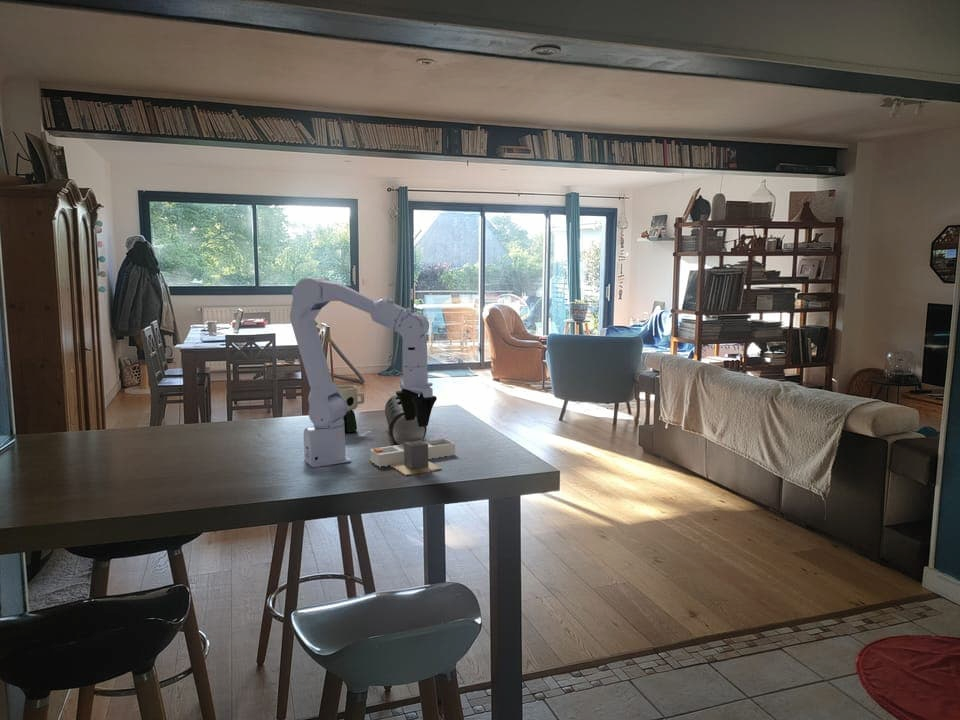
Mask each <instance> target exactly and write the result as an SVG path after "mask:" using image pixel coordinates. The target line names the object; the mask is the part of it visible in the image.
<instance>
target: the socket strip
mask: <svg viewBox="0 0 960 720" xmlns="http://www.w3.org/2000/svg"><path fill="white" fill-rule="evenodd" d="M422 441H423V440H422ZM423 442H425V443H427V444H428V460H433V459H432V458H434V459H439V457H441V458H445V456H447V457H452V455H453V456H456V443H455V442H454V441H451V440H449V439H446V438H443V437H442V438H436V439H429V440H424V441H423ZM370 461H371V462H370ZM369 462H370V463H372V464H373V463H374V465H375V466H376V465H377V466H376V467H378V466H379V467H378V468H382V467H381V466H385V467H389V466H388V465H391V464H397V463H404V444H402V445H397V444H396V445H388V446H384V447H383V446H382V447H375V448H370V449H369Z"/></svg>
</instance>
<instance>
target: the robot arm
mask: <svg viewBox="0 0 960 720" xmlns="http://www.w3.org/2000/svg"><path fill="white" fill-rule="evenodd" d="M291 296H292V301H291V307H290V312H289V318H290V324H291V327H292V330H293V334H294V337H295V340H296V344H297V348H298V350H299V354H300V357H301V361H302V364H303V368H304V370H305V375H306V377H307V381H308V384H309V388H310V390H309V394H308V397H307V401H308V404H309V407H308V408H309V409H308V418H309V420H310V421H311V423H312V424H313V425H312V426H310V427H309V426H308V427H305V428H304V429H303V450H304V451H303V452H304V457H303V460H304V461H305V462H306V463H307V464H308V465H310V467H312V468H319V467H324V466H325V467H326V466H332V465H337V464H339V465H340V464H344V463H350V462H352V459H351V458H350V457H348V456H346V433H345V432H346V430H345V427H344V420H343V417H344V416H345V414H346V413H347V409H348V405H347V402H346V400H345V399H344V398H343V397H342V395H341V394H340V391H339V388H338V387H337V386H338V385H336V384H335V383H334V382H333V378H332V376H331V375H332V374H331V372H330V368H329V364H328V361H327V357H326V355H325V351H324V349H323V345H322V341H321V337H320V334H319V331H318V327H317V324H316V321H315V320H316V318H317V317H318V315H319V313H320V312H321V310H322V309H323V308H324V307H326V305H328V304H329V303H331V302H337V301H338V302H341V303H344V304H346V305H348V306H351V307H352V308H356V309H358V310H361V311H363V312H366V313H368V314H369V315H370V318H371V319H372V321H373V322H374V323H376V324H379V325H381V326H382V327H385V328H387V329H390V330H392V331H394V332H396V333H398V334H399V335H400V336H401V337H402V339H401V340H402V351H401V352H402V380H399V389H401V390H397V391H395V395H397V396H398V398H399V400H400V402H401V405H402V408H403V412H404V416H405V420H406V421H408V420H414V419H415V415H417V422H418V426H419V427H424V426H426V427H428V426H429V423H430V417H431V414H432V410H433V408H434V405H435V403H436V401H437V399H438V398H437V396H436V395H433V394H434V393H433V389H434V388H432V387H433V382H429V379H428V377H429V376H428V375H429V374H428V371H429V370H428V367H429V366H428V344H427V340H428V339H427V338H428V337H427V333H428V331H429V330H430V322H429V319H428V318H427V317H426V316H425V315H424V314H423V313H421V312H420V311H419V312H417V311H416V312H412V311H413V310H412V308H410V307H407V308H405V307H404V306H403V307H402V306H401V305H399V304H396V303H394V302H395V301H394V300H393V299H392V298H386V299H385V298H381V299H378V300H374V299H373V298H371V297H369V296H367V295H364V294H363V293H361V292H359V291H357V290H355V289H353V288H351V287H349V286H348V285H345V284H343V283H341V282H339V281H337V280H333V279H332V280H331V279H330V278H328V277H326V276H325V277H324V276H323V277H315V278H314V277H313V278H312V277H303V278H301V279H300V280H299V281H298V282H297V283H296V285H294V287H293V289H292V290H291ZM401 405H400V406H401Z"/></svg>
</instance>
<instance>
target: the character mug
mask: <svg viewBox="0 0 960 720" xmlns="http://www.w3.org/2000/svg"><path fill="white" fill-rule="evenodd" d="M336 386H337V387H338V388H339V391H340V394H341V395H342V397H343V398H344V399H345V400H346V402H347V405H348V409H347V413H346V414H345V416H344V417H343V420H344V427H345V431H347V433H351V432H352V433H353V432H355V431H357V429H358V426H357V419H356V414H355V411H354V410H356V409H357V408H358V405H363V404H364V403H365V393H364V392H362V391H360V392H358V386H357V385H351V384H350V385H349V384H343V385H341V384H339V385H336ZM359 396H360V400H359V399H358V397H359Z"/></svg>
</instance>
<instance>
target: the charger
mask: <svg viewBox="0 0 960 720" xmlns="http://www.w3.org/2000/svg"><path fill="white" fill-rule="evenodd" d="M428 461H429V459H428V444H427V443H425V442H423V440H422V441H421V440H418V441H411V442H404V466H406V467H408V468H409V469H411V470H415V469H421V468H427V467H428Z"/></svg>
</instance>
